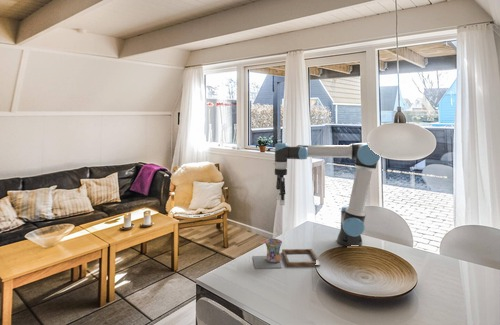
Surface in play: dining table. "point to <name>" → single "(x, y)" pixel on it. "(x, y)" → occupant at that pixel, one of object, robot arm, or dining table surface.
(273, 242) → the mug
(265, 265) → the mat
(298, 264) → the frame
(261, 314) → the dining table surface
